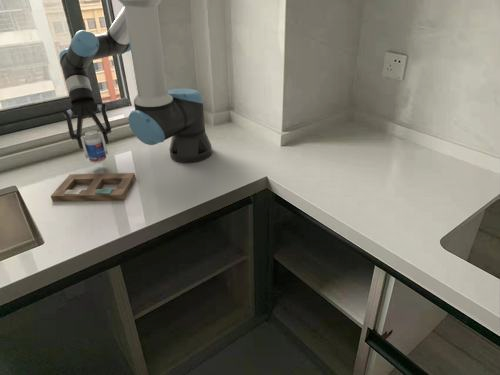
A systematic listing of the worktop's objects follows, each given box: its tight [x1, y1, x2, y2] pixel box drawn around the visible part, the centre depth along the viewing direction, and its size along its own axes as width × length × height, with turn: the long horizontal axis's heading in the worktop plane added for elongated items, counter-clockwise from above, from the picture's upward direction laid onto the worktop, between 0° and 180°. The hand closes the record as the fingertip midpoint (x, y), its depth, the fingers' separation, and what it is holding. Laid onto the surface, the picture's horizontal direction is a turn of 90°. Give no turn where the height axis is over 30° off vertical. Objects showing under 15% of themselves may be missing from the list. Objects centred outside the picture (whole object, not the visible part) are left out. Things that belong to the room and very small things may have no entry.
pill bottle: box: [84, 129, 107, 164], centre depth 122 cm, size 6×5×10 cm
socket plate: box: [50, 172, 137, 203], centre depth 112 cm, size 21×13×2 cm, turn 90°
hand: (96, 154), depth 120 cm, fingers closed on pill bottle, 5 cm apart
